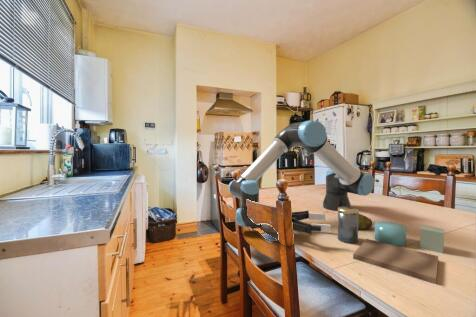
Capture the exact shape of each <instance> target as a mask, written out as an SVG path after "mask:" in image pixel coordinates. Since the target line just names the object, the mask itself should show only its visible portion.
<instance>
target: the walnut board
mask: <svg viewBox="0 0 476 317" xmlns="http://www.w3.org/2000/svg"><path fill="white" fill-rule="evenodd" d="M352 258H353V259H354V260H357V261H361V262H362V263H363V262H364V263H367V264H370V265H373V266H376V267H379V268H382V269H383V268H384V269H386V270H389V271H391V272H395V273H398V274H402V275H405V276H409V277H412V278H415V279H419V280H421V281H423V282H424V281H425V282H428V283H431V284H435V285H437V284H436V283H437V276H438V268H439V267H438V265H439V255H435V254H431V253H426V252H422V251H419V250H414V249H410V248H406V247H404V246H394V245H390V244H386V243H382V242H378V241H376V240H375V239H374V240H373V239H369V238H366V239H365V240H363V242H362V243H361V244H360V245H359V247H358V248H357V249H356V250H355V251H354V252H353V253H352Z"/></svg>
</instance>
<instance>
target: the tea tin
mask: <svg viewBox="0 0 476 317" xmlns="http://www.w3.org/2000/svg"><path fill="white" fill-rule="evenodd" d="M359 211H360V210H359V208H357V207H353V206H351V207H347V206H341V207H338V211H337V239H338V241H340V242H342V243H344V244H347V245H348V244H349V245H350V244H351V245H353V244H354V245H355V244H358V243H359V229H358V214H360V213H359Z"/></svg>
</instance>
